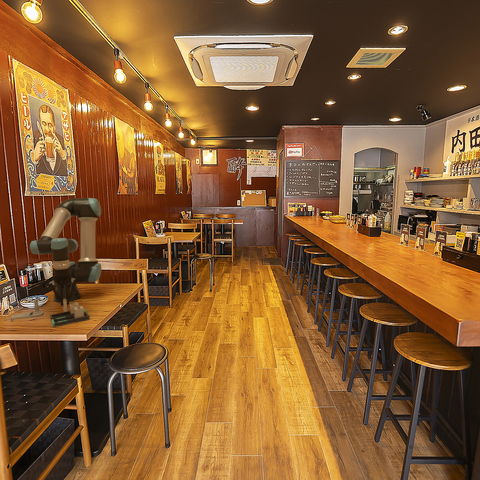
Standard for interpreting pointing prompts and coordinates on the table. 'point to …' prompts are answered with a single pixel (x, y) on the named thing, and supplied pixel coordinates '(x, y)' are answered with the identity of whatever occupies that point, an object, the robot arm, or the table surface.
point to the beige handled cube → (78, 312)
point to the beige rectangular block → (73, 307)
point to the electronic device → (29, 315)
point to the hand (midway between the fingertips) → (65, 311)
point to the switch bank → (66, 318)
